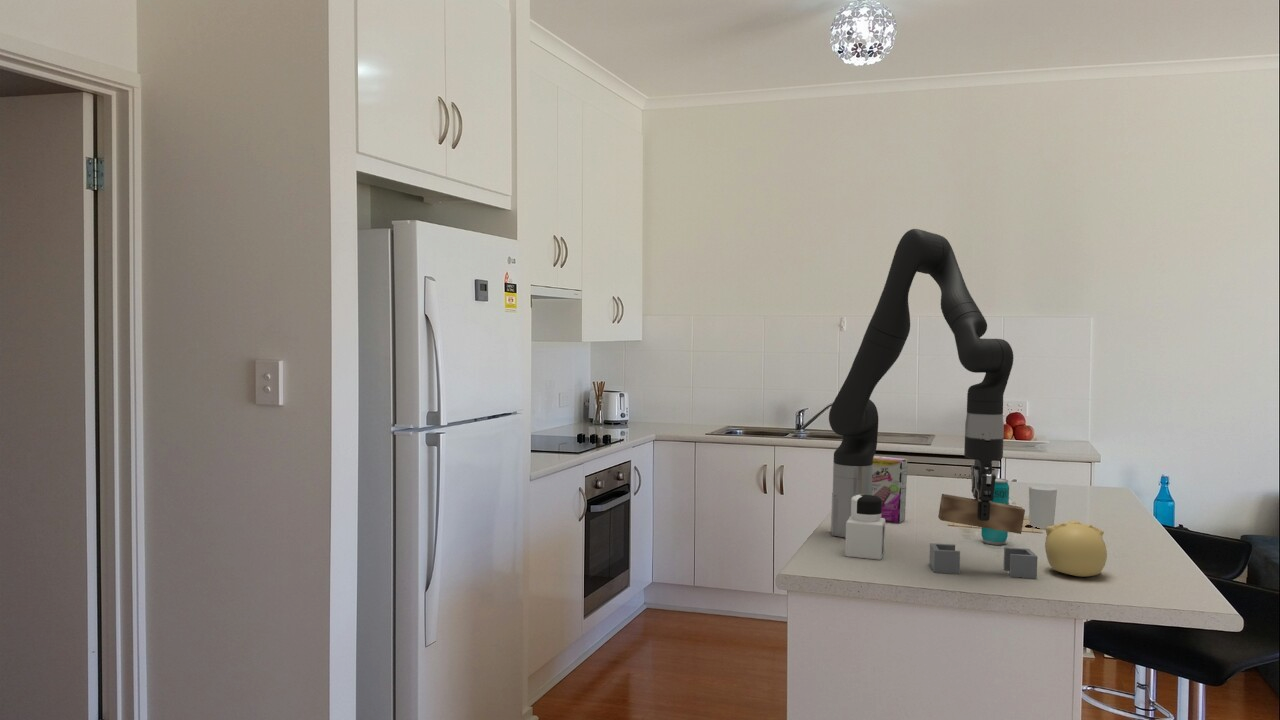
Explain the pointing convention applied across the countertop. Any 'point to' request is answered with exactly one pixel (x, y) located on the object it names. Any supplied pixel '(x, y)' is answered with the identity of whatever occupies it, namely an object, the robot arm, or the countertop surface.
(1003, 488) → the beverage can
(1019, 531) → the brown wooden bar
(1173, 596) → the countertop surface
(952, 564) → the endcap
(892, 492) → the candy bar box
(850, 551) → the container
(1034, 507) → the drinking glass
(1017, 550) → the endcap
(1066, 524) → the sculpture
